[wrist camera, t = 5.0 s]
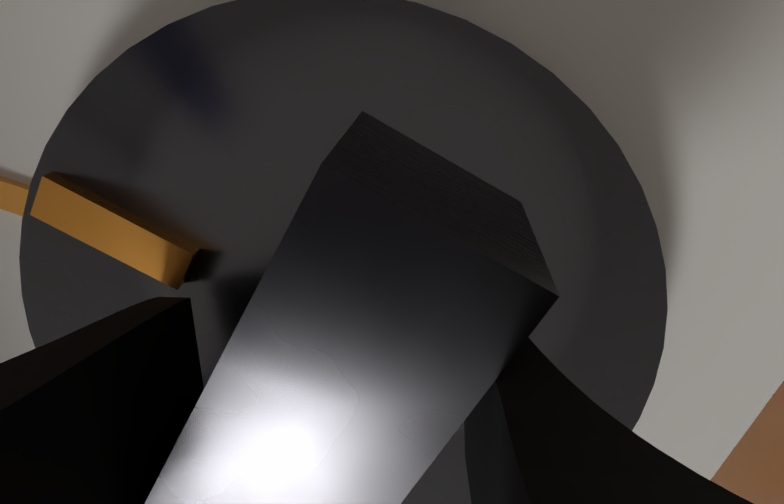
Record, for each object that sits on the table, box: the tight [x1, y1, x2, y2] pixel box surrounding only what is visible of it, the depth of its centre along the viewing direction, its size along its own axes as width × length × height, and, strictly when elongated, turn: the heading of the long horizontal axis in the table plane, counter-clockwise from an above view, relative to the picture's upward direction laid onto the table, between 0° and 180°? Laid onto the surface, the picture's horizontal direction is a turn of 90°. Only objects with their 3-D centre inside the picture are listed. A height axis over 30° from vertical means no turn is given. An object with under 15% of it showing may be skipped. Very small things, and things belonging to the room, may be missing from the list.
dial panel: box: [0, 0, 784, 480], centre depth 13 cm, size 18×18×2 cm
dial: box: [19, 0, 668, 504], centre depth 10 cm, size 12×12×4 cm
